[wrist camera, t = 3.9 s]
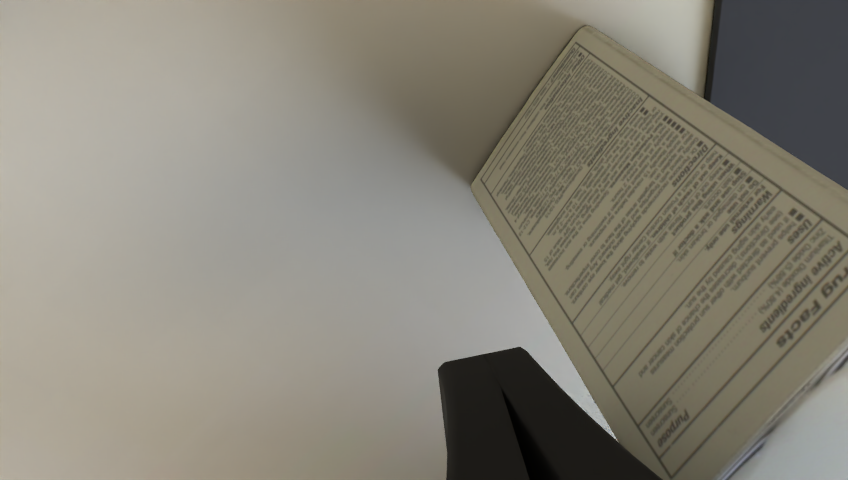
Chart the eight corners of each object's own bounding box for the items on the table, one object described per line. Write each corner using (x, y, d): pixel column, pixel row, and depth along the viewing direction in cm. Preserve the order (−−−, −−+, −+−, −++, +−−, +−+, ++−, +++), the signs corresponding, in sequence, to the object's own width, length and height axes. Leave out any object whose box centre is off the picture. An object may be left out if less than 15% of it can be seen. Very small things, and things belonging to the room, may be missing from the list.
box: (582, 250, 21) (838, 610, 12) (461, 185, 20) (652, 551, 10) (708, 95, 20) (1121, 378, 10) (587, 8, 18) (957, 256, 8)
